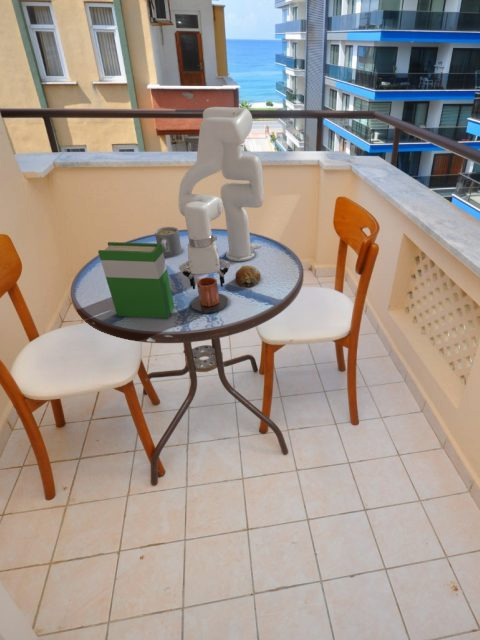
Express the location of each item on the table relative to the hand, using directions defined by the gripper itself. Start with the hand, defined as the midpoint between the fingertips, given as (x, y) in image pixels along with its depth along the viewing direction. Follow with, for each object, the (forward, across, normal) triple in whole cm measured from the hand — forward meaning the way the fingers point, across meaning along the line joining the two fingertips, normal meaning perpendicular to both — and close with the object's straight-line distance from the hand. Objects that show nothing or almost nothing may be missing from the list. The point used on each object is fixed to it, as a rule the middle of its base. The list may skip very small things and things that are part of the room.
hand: (208, 286), depth 146 cm
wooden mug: (+6, 0, +2) cm, 6 cm away
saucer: (+7, 0, 0) cm, 7 cm away
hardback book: (+7, +22, +2) cm, 23 cm away
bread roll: (+7, -15, -14) cm, 22 cm away
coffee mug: (+8, +19, -47) cm, 51 cm away
